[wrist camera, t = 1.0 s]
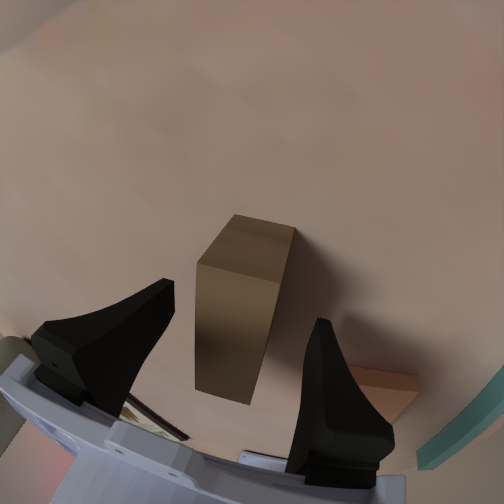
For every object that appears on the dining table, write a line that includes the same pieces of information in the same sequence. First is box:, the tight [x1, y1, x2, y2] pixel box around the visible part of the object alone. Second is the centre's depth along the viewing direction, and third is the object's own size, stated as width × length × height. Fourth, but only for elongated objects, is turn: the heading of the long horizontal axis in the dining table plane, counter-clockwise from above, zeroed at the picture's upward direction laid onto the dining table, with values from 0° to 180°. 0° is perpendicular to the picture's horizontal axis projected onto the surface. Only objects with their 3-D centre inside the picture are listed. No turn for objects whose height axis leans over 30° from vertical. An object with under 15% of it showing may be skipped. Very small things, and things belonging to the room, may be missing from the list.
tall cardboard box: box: [195, 214, 295, 405], centre depth 14 cm, size 8×3×5 cm, turn 172°
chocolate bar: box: [119, 393, 189, 441], centre depth 28 cm, size 9×1×18 cm
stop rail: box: [417, 366, 504, 470], centre depth 16 cm, size 20×2×2 cm, turn 172°
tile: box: [347, 365, 420, 424], centre depth 19 cm, size 7×7×2 cm
